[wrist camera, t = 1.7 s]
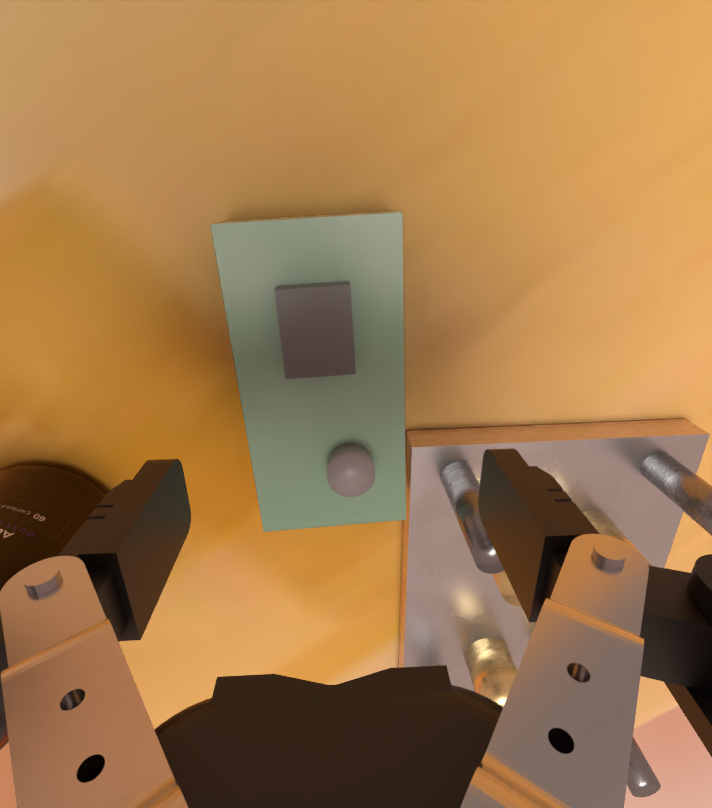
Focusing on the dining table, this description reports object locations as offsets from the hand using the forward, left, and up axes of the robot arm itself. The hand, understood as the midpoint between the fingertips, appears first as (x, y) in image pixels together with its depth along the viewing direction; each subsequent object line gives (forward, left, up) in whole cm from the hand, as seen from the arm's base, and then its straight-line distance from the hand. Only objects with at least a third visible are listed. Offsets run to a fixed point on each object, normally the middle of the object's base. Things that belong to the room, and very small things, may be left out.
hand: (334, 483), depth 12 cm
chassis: (+12, +10, -8) cm, 17 cm away
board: (0, 0, -8) cm, 8 cm away
